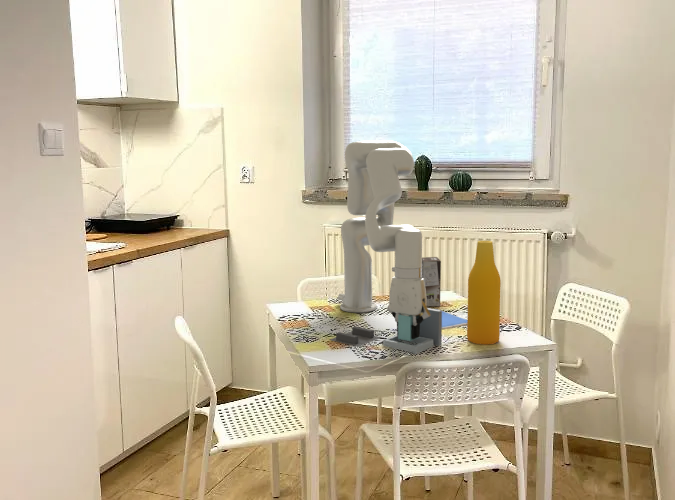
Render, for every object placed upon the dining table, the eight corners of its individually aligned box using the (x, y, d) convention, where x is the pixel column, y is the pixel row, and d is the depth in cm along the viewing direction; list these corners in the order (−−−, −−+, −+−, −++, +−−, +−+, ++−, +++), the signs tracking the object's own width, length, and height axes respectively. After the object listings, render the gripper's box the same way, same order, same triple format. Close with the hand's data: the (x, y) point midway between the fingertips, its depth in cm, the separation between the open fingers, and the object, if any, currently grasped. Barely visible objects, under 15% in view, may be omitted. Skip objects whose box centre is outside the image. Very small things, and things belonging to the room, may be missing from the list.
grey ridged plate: (328, 341, 200) (328, 332, 199) (352, 332, 208) (352, 324, 208) (358, 347, 193) (358, 339, 192) (381, 338, 201) (381, 330, 201)
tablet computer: (473, 325, 216) (473, 321, 216) (441, 331, 210) (441, 327, 210) (436, 312, 233) (436, 308, 232) (406, 317, 227) (406, 313, 226)
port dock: (380, 346, 194) (380, 312, 192) (403, 336, 203) (403, 303, 201) (419, 354, 186) (419, 319, 184) (441, 344, 195) (441, 310, 193)
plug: (398, 338, 193) (398, 311, 191) (406, 335, 196) (406, 308, 194) (410, 341, 190) (410, 313, 189) (417, 337, 193) (418, 310, 192)
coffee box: (440, 306, 238) (441, 260, 236) (422, 306, 238) (422, 261, 236) (437, 300, 247) (437, 256, 245) (419, 300, 247) (419, 256, 245)
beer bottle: (505, 340, 198) (508, 241, 193) (486, 347, 192) (488, 245, 187) (479, 333, 205) (481, 238, 200) (460, 340, 199) (461, 241, 194)
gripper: (376, 271, 192) (376, 334, 195) (426, 278, 182) (426, 345, 185) (391, 267, 198) (391, 328, 201) (441, 274, 187) (440, 338, 190)
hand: (408, 335), depth 193 cm, fingers closed on plug, 4 cm apart
